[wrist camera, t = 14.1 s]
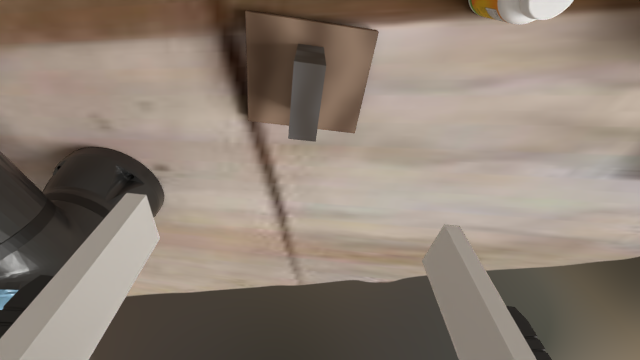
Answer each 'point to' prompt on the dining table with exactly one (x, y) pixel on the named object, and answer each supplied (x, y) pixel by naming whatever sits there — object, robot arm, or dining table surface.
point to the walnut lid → (306, 73)
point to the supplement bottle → (519, 9)
